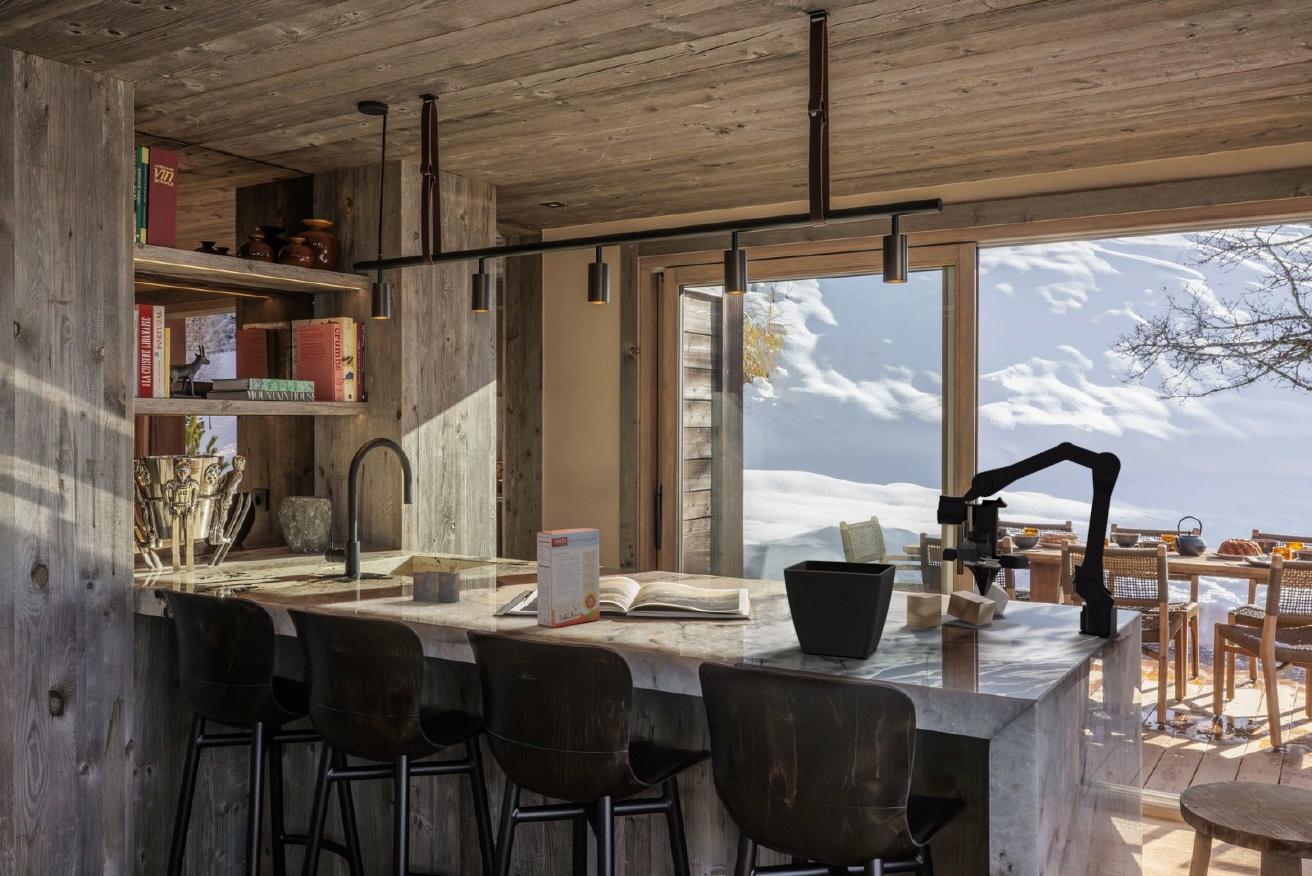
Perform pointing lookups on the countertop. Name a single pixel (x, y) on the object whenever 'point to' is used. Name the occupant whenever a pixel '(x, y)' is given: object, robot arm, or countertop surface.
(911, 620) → the oak block
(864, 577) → the flower pot
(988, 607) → the walnut block
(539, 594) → the cracker box
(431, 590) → the grooved slate block
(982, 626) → the rubber mat
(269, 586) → the countertop surface
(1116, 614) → the robot arm
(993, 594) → the die
